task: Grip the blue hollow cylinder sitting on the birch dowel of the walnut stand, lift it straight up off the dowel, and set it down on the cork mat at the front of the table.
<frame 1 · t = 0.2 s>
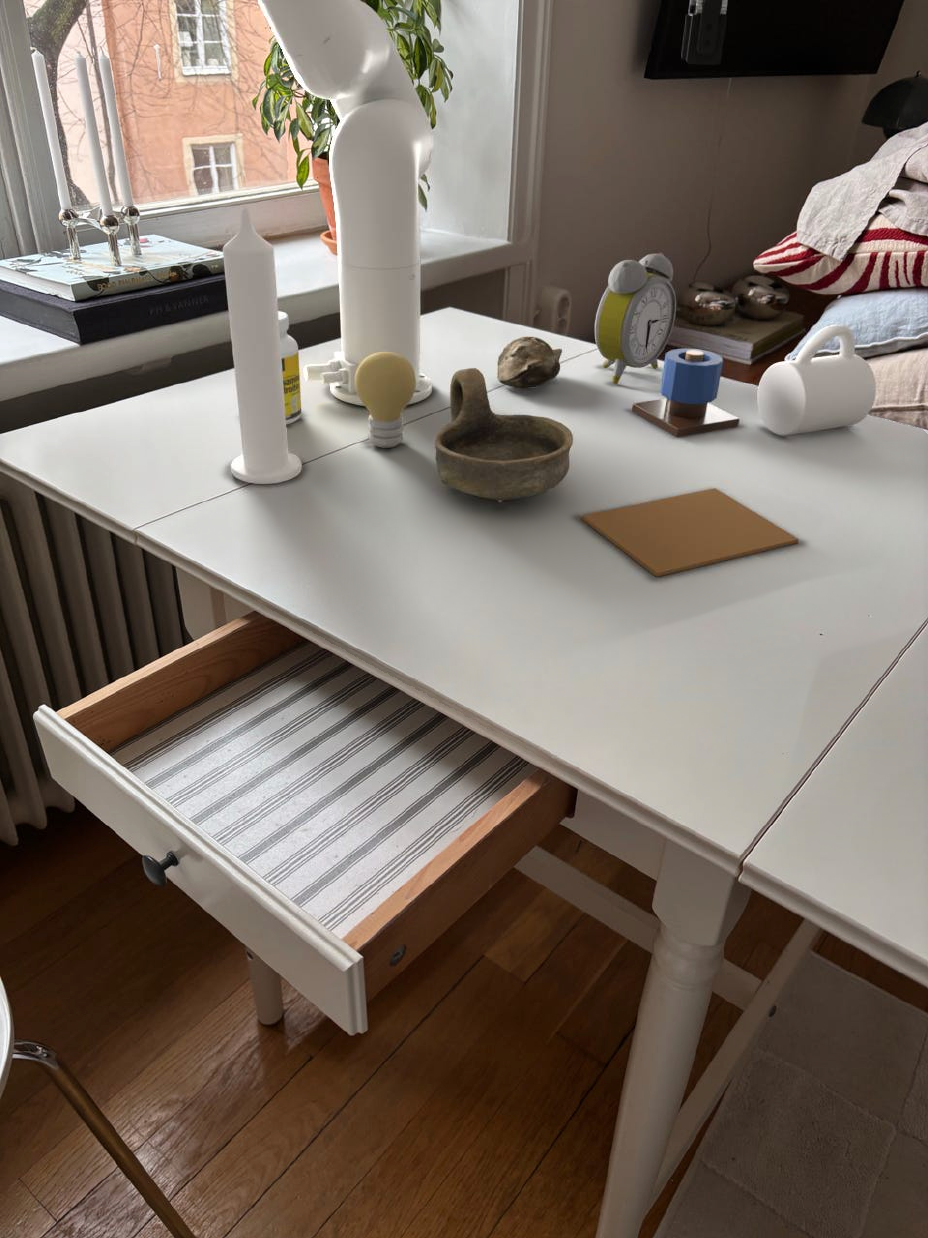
hand: (699, 61, 96), 37 cm above the table, tool pointing down, fingers open, 9 cm apart
alarm clock: (623, 374, 128), on the table
dowel stand: (684, 418, 114), on the table
light bulb: (386, 445, 105), on the table
fossilized seashell: (529, 384, 124), on the table
candle: (266, 471, 98), on the table
blue hollow cylinder: (688, 394, 113), point 3 cm above the table, touching dowel stand
bowl: (494, 486, 97), on the table
pill bottle: (273, 419, 110), on the table
mug: (807, 429, 113), on the table
mat: (687, 530, 89), on the table
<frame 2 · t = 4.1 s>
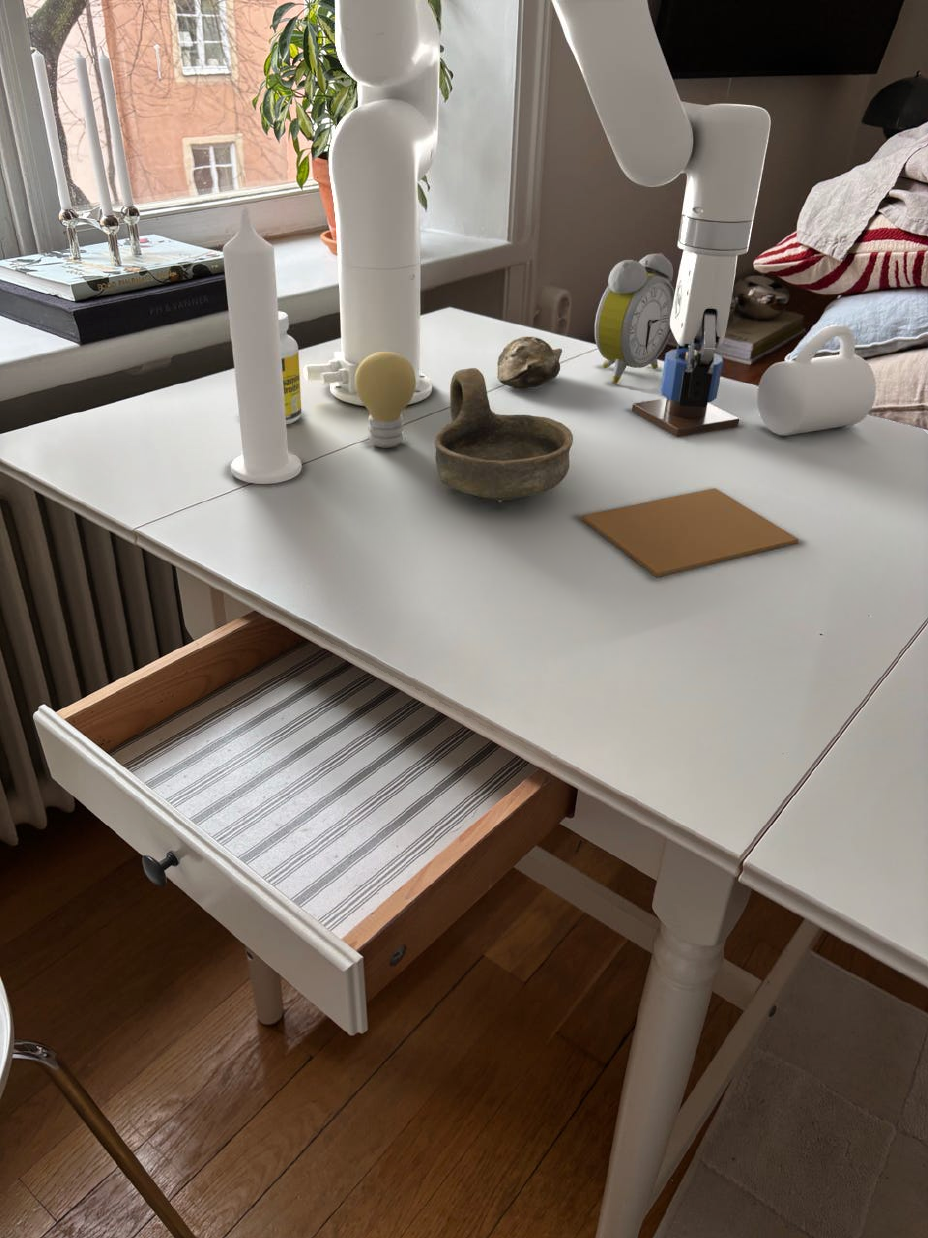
hand: (688, 393, 113), 3 cm above the table, tool pointing down, fingers closed on blue hollow cylinder, 6 cm apart
blue hollow cylinder: (688, 394, 113), point 3 cm above the table, touching dowel stand, gripper
everything else where it was.
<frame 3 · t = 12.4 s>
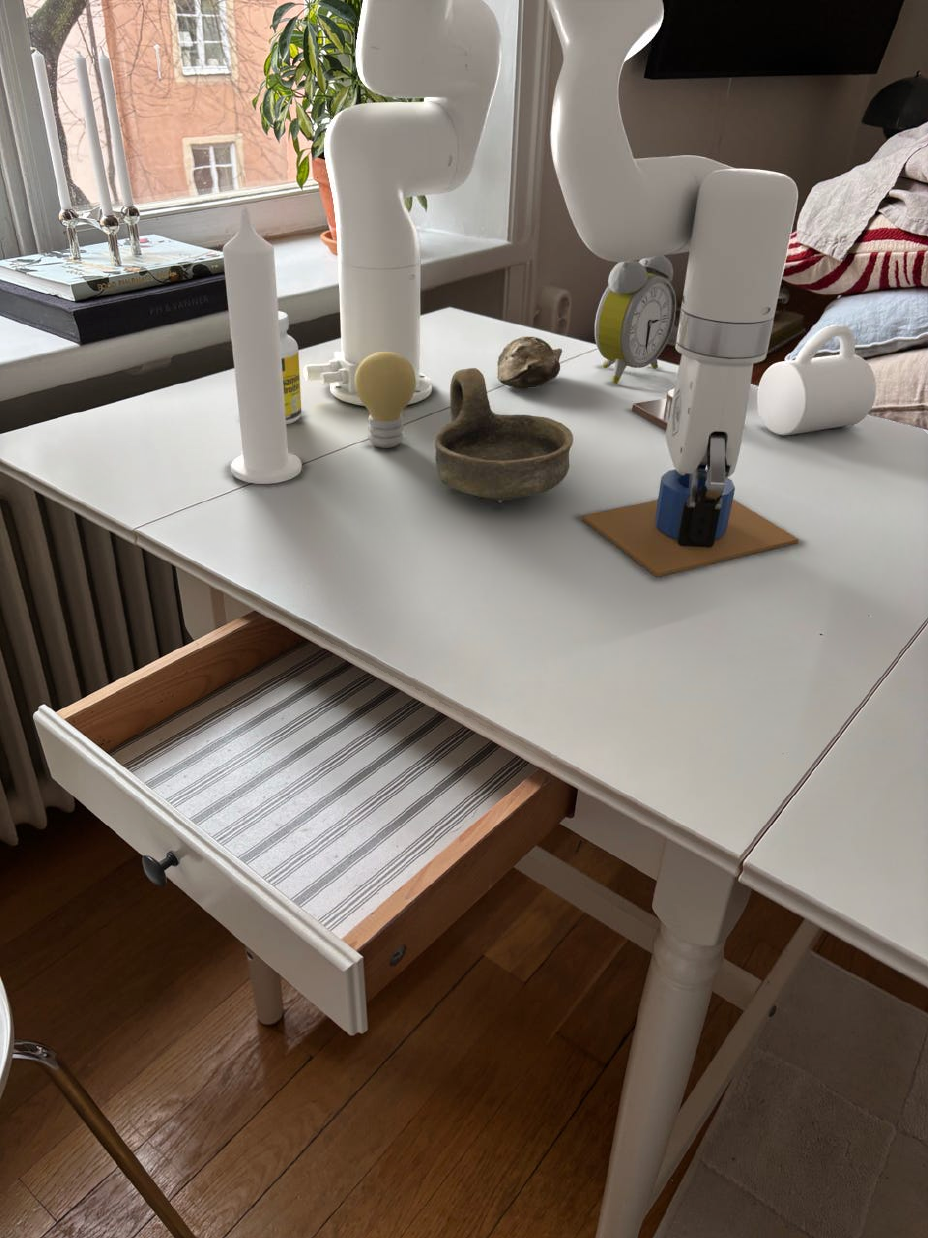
hand: (689, 525, 89), 1 cm above the table, tool pointing down, fingers closed on blue hollow cylinder, 6 cm apart
blue hollow cylinder: (690, 526, 89), resting on mat, touching gripper
everything else where it was.
when the fingers open (1 cm above the table, at t = 19.9 s): blue hollow cylinder stays where it is, resting on mat.
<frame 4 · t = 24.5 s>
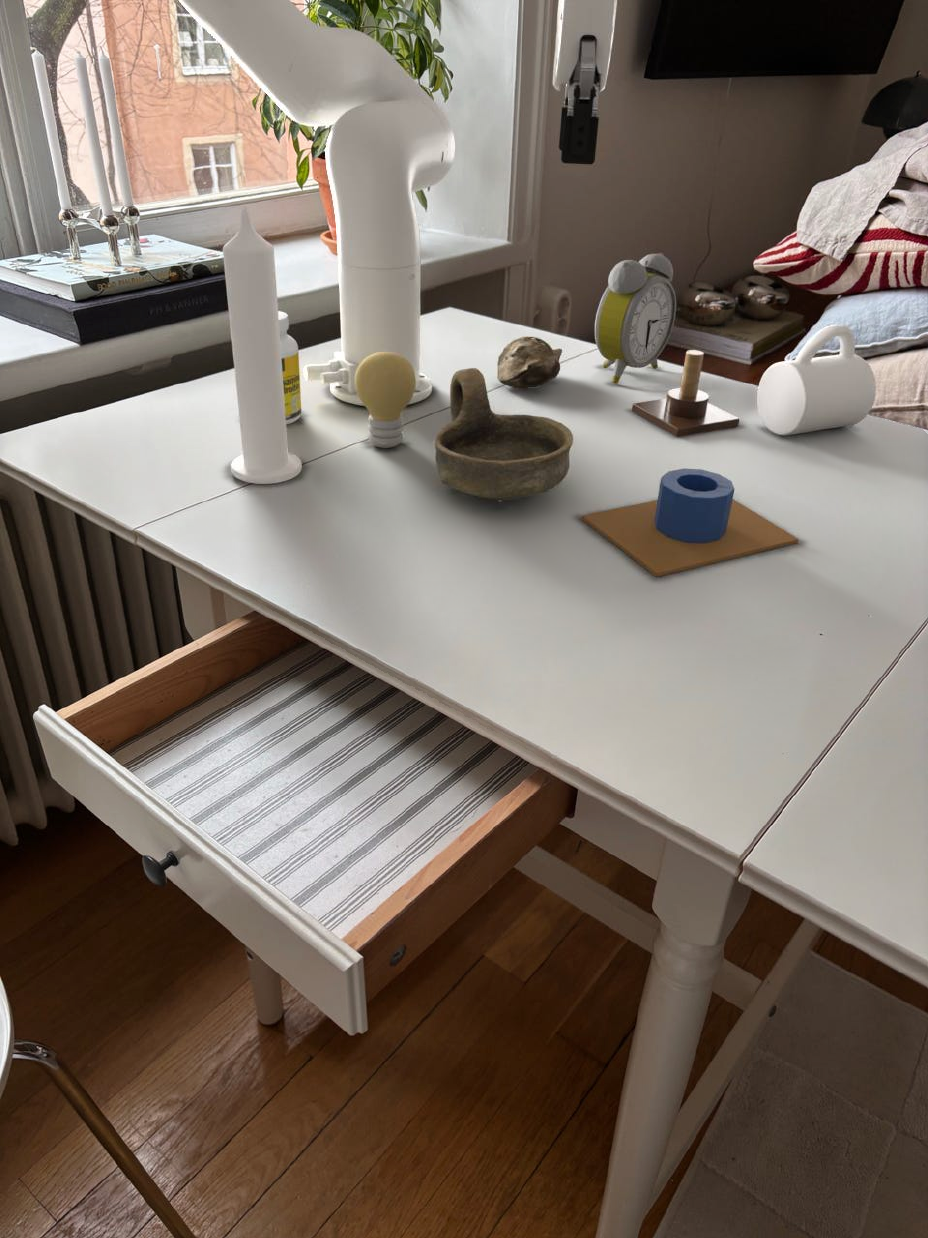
hand: (575, 156, 96), 28 cm above the table, tool pointing down, fingers open, 9 cm apart
blue hollow cylinder: (689, 527, 89), resting on mat
everything else where it was.
at the end: blue hollow cylinder inside the target area on the mat (0.1 cm from its centre), point 0.4 cm above the mat's base; blue hollow cylinder tilted 0°; blue hollow cylinder moved 30.1 cm from its start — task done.
